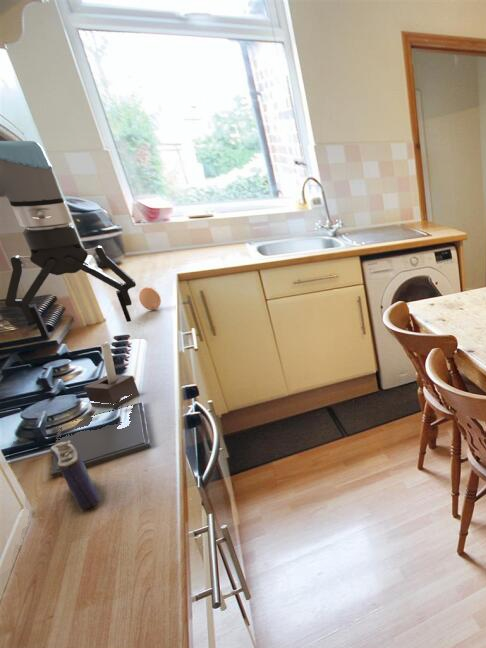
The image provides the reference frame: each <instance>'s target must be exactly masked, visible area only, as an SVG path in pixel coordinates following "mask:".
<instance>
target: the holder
mask: <svg viewBox="0 0 486 648" xmlns="http://www.w3.org/2000/svg"><path fill="white" fill-rule="evenodd" d="M116 379H117V380H116V381H114V382H112V383H110V384H109V383H108V379H107V375H105V376H103V377H101V378H99V379H97V380H94V381H93V382H90V383H89V384H86V385H84V386H83V389H84V391H85V393H86V396H87V398H88V401H89V402H90V401H94V402H100V403H90V405H91V407H95V408H108V409H118V408H120V407H121V406H122V405H124V404H126V403H128V402H129V401H131V400H133V399H135V398H137V397H138V396H140V391H139V389H138V386H137V384H136V381H135V379H134V376H133V375H125V374H116ZM131 394H132V395H131ZM129 395H130V396H129ZM124 396H129V397H127V398H125V399H123V400H121V401H120V402H118V403H116V402H117V401H118V400H119V399H120V398H121V397H124ZM101 403H109V404H101ZM110 403H111V404H110ZM114 403H116V404H114ZM113 404H114V405H113Z"/></svg>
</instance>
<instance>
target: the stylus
mask: <svg viewBox="0 0 486 648" xmlns="http://www.w3.org/2000/svg"><path fill="white" fill-rule="evenodd" d="M100 348H101V353H102V358H103V363H104V369H105V372H106V376H107V379H108V383H109V384H110V383H112V382H114V381H116V380H117V379H116V375H117V374H116V369H115V363H114V359H113V353H112V349H111V345H110V343H109V342H103V343H101V344H100Z"/></svg>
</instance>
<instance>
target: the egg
mask: <svg viewBox="0 0 486 648" xmlns="http://www.w3.org/2000/svg"><path fill="white" fill-rule="evenodd" d="M138 297H139V298H138V299H139V302H140V304H141V306H142V307H143V308H144V309H146V310H148V311H156V310H158V309H159V307H160V306H161V303H162V300H161V296H160V294H159V293H158V291H156V290H155V289H154V288H152V287H150V286H145V287H143V288H142V289H141V290H140V291H139V294H138Z"/></svg>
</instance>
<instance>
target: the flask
mask: <svg viewBox="0 0 486 648" xmlns="http://www.w3.org/2000/svg"><path fill="white" fill-rule="evenodd" d="M70 443H71V441H69V440H68V442H60V443H58V444H56V443H55V444H53V445H52V446H51V447H50V453H51V454H52V456H53V458H55V460H56V461H57V463H58V467H59V469H60V471H61V472H62V474H63V475H62V477H63V478H64V480H65V482H66V484H67V486H68V489H69V490H70V492H71V495H72V496H73V498H74V500H75V502H76V504H77V506H78V508H79V510H80V512H89V511H92V510H94V509H96V508H98V506H99V505H100V503H101V496H100V493H99V492H98V490H97V488H96V486H95V485H94V483H93V480H92V478H91V476H90V473H89V471H88V470H87V468H86V467H85V465H84V463H83V461H82V459H81V457H80V454H79V452H78V450H77V449H76V448H75V447H74V446H73V445H72V444H70Z"/></svg>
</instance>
